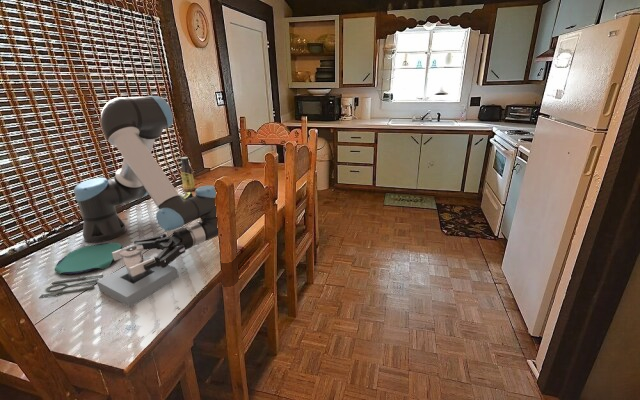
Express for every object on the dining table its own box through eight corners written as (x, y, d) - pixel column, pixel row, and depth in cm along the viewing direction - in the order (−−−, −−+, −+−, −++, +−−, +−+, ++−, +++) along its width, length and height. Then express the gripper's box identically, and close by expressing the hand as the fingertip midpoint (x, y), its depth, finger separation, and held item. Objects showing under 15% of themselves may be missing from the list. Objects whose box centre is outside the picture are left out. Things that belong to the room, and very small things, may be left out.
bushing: (124, 285, 95) (115, 251, 91) (143, 275, 100) (135, 242, 96) (136, 290, 92) (126, 255, 88) (155, 280, 97) (147, 246, 93)
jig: (99, 290, 93) (96, 281, 92) (148, 264, 106) (146, 256, 105) (129, 307, 86) (126, 297, 85) (178, 277, 99) (176, 268, 98)
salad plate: (175, 213, 150) (173, 204, 148) (148, 208, 156) (146, 200, 154) (202, 199, 167) (201, 191, 165) (177, 196, 172) (175, 188, 171)
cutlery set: (131, 243, 121) (129, 238, 120) (100, 291, 94) (98, 285, 93) (74, 251, 117) (72, 246, 116) (25, 303, 90) (22, 296, 89)
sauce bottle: (181, 191, 179) (175, 158, 172) (189, 188, 185) (183, 155, 177) (190, 192, 177) (183, 159, 170) (197, 189, 182) (192, 156, 175)
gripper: (210, 257, 100) (142, 290, 85) (173, 236, 115) (110, 260, 99) (206, 237, 97) (135, 267, 82) (169, 218, 112) (103, 240, 97)
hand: (121, 264), depth 91 cm, fingers open, 13 cm apart
